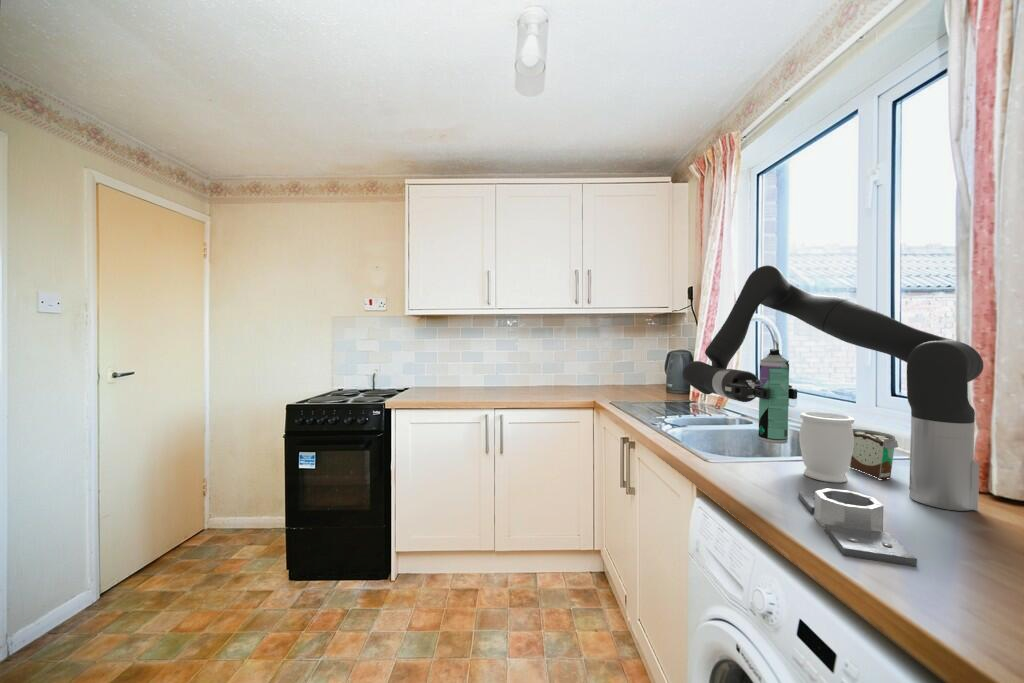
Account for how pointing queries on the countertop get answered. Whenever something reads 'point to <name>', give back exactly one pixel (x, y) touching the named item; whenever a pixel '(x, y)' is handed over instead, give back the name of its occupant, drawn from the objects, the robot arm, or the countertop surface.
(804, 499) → the grey octagonal flange mount
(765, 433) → the spray can
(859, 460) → the food container
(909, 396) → the robot arm
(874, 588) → the countertop surface
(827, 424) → the jar
